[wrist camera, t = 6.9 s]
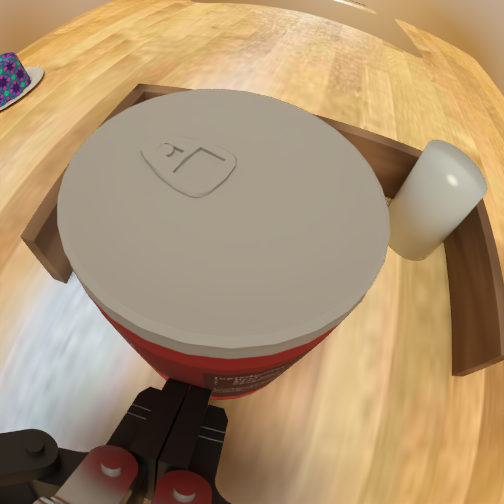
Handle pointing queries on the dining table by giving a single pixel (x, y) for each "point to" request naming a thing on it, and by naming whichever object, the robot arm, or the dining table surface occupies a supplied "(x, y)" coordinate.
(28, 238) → the u-shaped frame
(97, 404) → the dining table surface
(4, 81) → the patterned hat
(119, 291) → the canned food
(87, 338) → the dining table surface
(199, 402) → the robot arm
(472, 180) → the grey rounded capsule
